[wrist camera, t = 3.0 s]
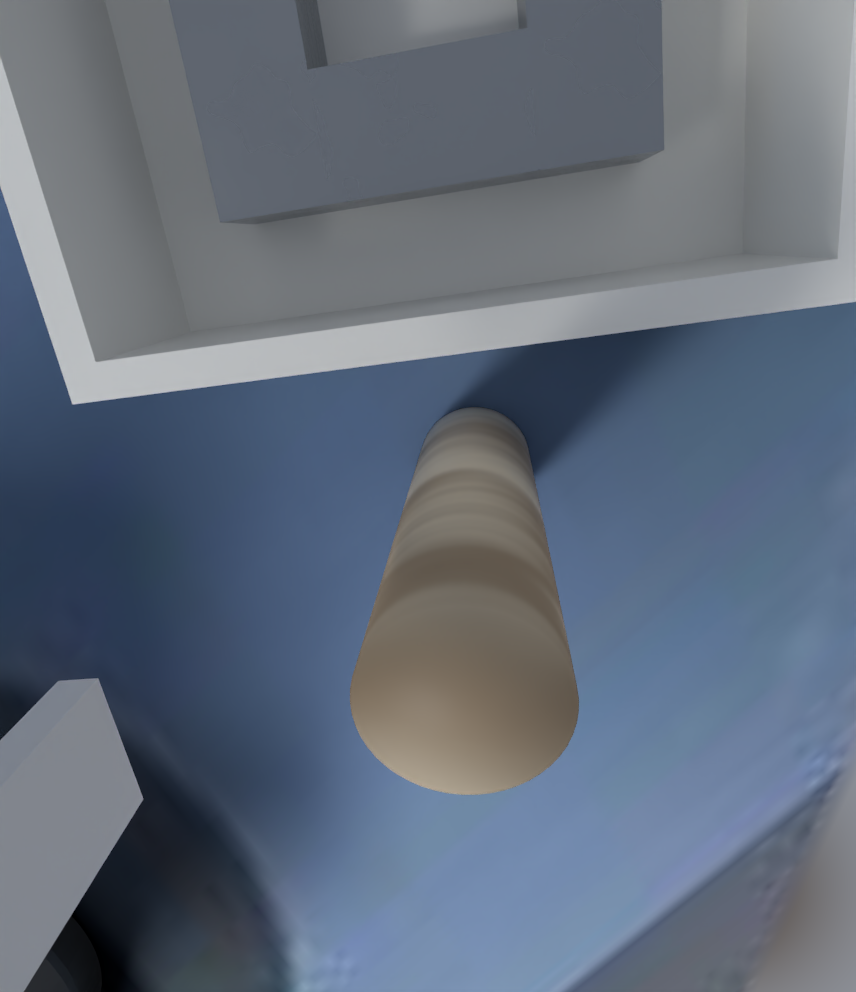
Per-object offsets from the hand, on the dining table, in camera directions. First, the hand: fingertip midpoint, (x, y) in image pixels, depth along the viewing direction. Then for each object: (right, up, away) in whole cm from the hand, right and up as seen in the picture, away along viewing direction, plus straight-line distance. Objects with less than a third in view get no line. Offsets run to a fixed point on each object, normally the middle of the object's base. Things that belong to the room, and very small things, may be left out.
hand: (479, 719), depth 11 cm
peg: (+1, +5, +14) cm, 15 cm away
